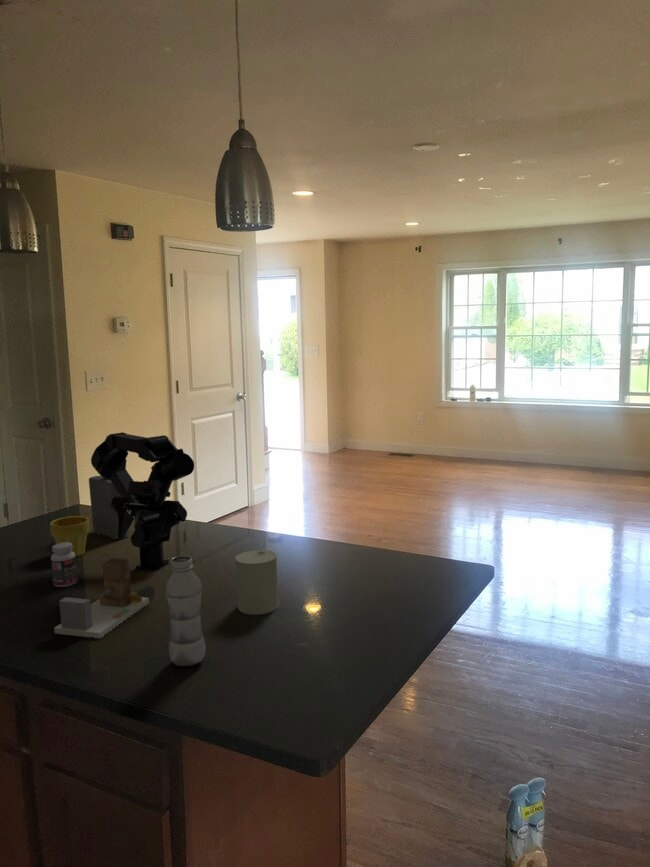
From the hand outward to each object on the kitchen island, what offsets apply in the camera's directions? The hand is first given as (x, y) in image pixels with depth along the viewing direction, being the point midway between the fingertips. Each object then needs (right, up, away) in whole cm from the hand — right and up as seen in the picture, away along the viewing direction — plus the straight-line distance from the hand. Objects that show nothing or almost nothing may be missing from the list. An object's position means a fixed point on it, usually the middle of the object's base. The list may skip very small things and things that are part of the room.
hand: (136, 540), depth 161 cm
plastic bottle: (+19, -17, -34) cm, 43 cm away
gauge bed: (-3, -15, -13) cm, 20 cm away
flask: (-21, -6, +49) cm, 54 cm away
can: (+30, -13, -10) cm, 34 cm away
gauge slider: (-1, -13, -9) cm, 15 cm away
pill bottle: (-20, -12, +9) cm, 25 cm away
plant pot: (-27, -9, +31) cm, 42 cm away
